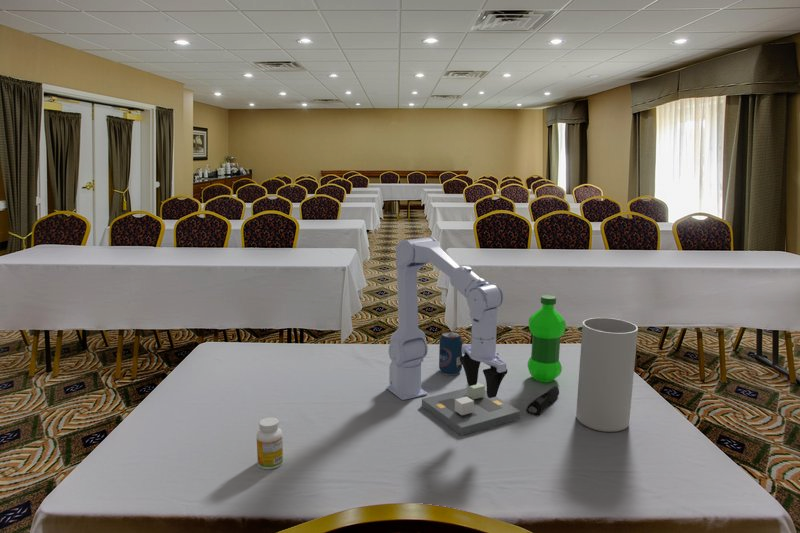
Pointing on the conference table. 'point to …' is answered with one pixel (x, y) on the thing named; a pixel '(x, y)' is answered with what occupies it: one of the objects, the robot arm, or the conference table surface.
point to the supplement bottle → (269, 444)
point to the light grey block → (464, 405)
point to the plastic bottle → (546, 341)
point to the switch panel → (483, 416)
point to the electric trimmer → (542, 401)
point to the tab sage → (476, 391)
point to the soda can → (450, 352)
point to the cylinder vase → (606, 373)
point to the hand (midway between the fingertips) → (481, 390)
